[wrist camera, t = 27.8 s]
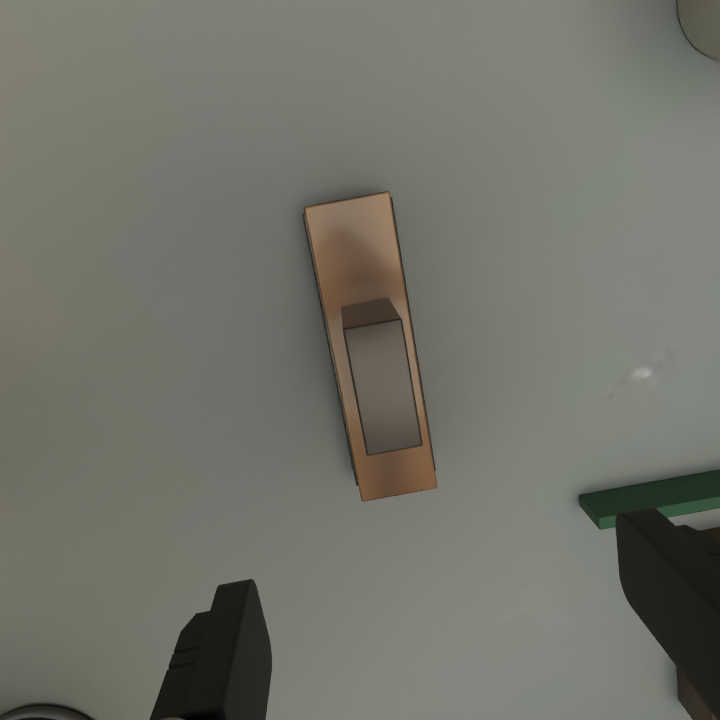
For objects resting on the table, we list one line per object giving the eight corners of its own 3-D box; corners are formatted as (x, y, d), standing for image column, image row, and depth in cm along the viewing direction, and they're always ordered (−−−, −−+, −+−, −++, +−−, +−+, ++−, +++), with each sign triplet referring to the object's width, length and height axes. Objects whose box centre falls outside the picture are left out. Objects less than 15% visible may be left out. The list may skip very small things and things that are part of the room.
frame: (603, 760, 44) (622, 799, 41) (578, 495, 39) (598, 518, 36) (816, 721, 44) (850, 758, 41) (821, 451, 39) (860, 470, 36)
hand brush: (356, 476, 38) (363, 563, 29) (302, 207, 34) (291, 208, 25) (431, 462, 38) (463, 544, 29) (387, 191, 34) (408, 186, 25)
